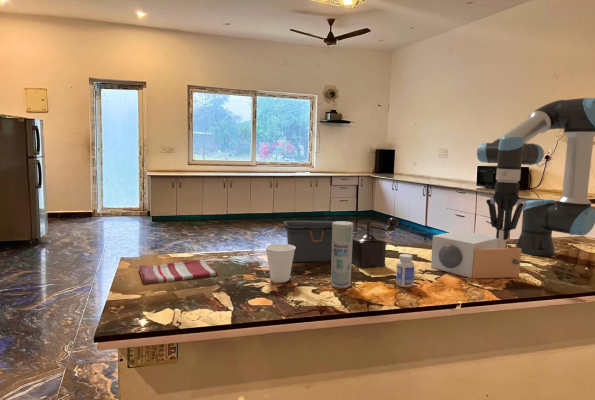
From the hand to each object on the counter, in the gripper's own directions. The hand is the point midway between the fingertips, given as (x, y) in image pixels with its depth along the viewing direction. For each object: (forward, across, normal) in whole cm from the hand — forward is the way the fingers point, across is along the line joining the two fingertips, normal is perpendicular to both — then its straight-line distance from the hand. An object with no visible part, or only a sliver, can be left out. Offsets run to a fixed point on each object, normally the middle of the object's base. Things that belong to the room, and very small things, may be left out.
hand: (501, 248), depth 149 cm
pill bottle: (+10, -12, -38) cm, 41 cm away
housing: (+10, -11, -4) cm, 15 cm away
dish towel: (+12, -65, -92) cm, 113 cm away
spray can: (+11, -24, -54) cm, 61 cm away
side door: (+9, +2, -6) cm, 11 cm away
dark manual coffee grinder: (+10, -35, -26) cm, 45 cm away
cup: (+11, -39, -68) cm, 79 cm away
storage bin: (+11, -52, -42) cm, 68 cm away
